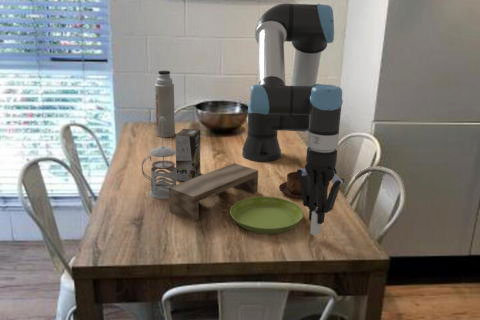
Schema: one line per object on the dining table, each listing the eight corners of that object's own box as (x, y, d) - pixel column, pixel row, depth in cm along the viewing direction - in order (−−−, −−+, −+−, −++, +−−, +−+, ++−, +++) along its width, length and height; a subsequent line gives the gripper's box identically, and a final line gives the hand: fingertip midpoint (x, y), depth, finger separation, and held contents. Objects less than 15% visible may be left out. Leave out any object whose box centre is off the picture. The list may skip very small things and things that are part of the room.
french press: (180, 198, 157) (179, 120, 149) (142, 199, 155) (139, 121, 147) (178, 186, 166) (177, 112, 158) (143, 187, 164) (139, 113, 156)
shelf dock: (257, 192, 163) (258, 170, 160) (193, 221, 142) (193, 196, 139) (234, 184, 169) (234, 163, 167) (169, 211, 148) (168, 187, 145)
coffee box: (193, 182, 170) (193, 136, 165) (175, 180, 171) (174, 134, 166) (201, 173, 178) (201, 129, 173) (183, 171, 179) (183, 127, 174)
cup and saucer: (315, 202, 157) (316, 184, 155) (277, 198, 159) (277, 180, 157) (316, 188, 168) (318, 170, 166) (280, 185, 170) (281, 167, 168)
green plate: (234, 204, 154) (234, 194, 153) (302, 208, 152) (302, 198, 151) (225, 235, 135) (225, 224, 134) (303, 241, 133) (303, 230, 132)
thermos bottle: (156, 137, 218) (154, 72, 209) (156, 132, 226) (155, 69, 216) (174, 137, 219) (173, 72, 210) (174, 132, 226) (173, 69, 217)
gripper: (292, 145, 127) (286, 230, 134) (337, 157, 119) (329, 246, 127) (308, 139, 132) (302, 221, 140) (353, 150, 124) (344, 236, 132)
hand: (315, 233), depth 133 cm, fingers closed
